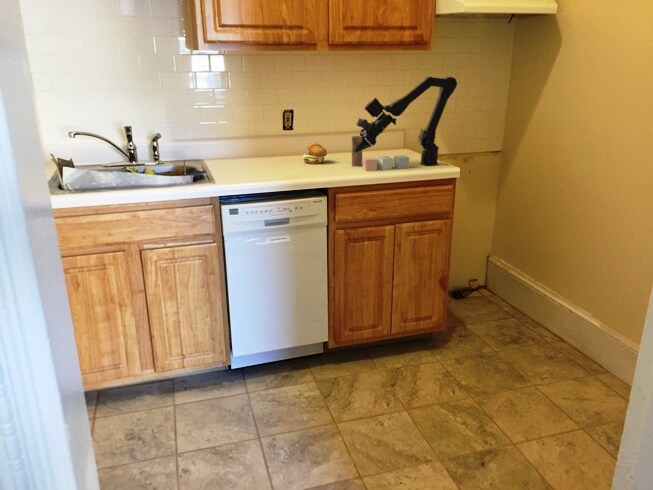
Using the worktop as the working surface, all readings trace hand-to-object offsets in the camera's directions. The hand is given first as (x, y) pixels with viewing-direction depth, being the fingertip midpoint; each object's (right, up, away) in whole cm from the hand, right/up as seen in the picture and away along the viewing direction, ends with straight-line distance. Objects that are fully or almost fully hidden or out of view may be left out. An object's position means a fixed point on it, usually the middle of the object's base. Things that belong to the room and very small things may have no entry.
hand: (354, 149), depth 248 cm
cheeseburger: (-18, -4, +10) cm, 21 cm away
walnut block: (+1, -7, +2) cm, 7 cm away
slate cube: (+21, -8, -3) cm, 22 cm away
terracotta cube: (+6, -10, -7) cm, 14 cm away
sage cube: (+13, -9, -5) cm, 17 cm away
